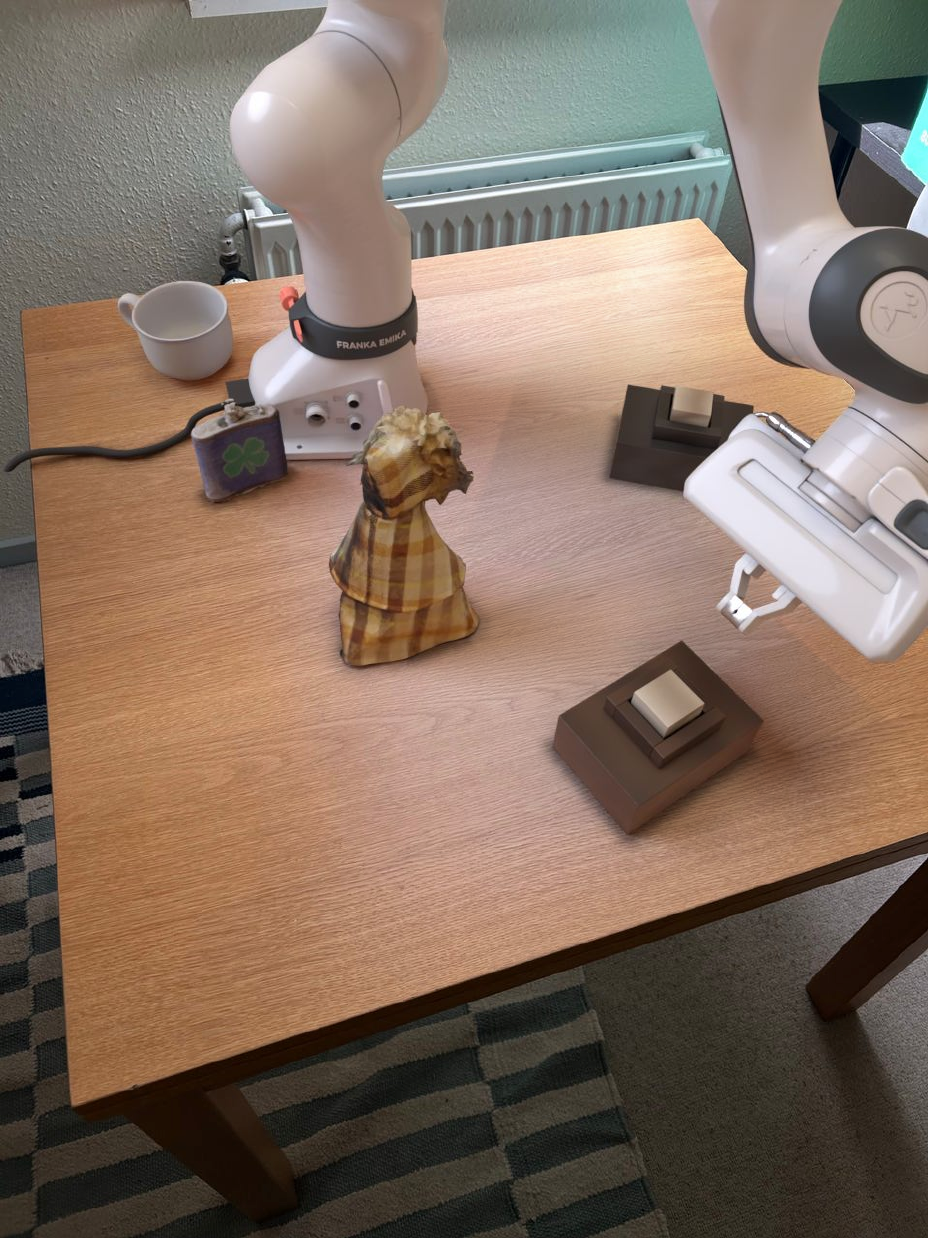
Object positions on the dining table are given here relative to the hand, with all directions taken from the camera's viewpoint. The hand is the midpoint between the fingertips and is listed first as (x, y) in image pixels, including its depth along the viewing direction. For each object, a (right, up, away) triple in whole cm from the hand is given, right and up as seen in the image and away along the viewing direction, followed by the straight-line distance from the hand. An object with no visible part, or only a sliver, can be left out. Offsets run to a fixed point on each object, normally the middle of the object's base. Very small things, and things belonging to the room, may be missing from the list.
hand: (731, 622), depth 69 cm
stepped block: (+4, +18, +34) cm, 38 cm away
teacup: (-54, +31, +42) cm, 75 cm away
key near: (-4, -7, +5) cm, 10 cm away
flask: (-44, +15, +29) cm, 55 cm away
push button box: (-4, -11, +11) cm, 16 cm away
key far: (+4, +22, +28) cm, 36 cm away
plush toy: (-27, +1, +19) cm, 33 cm away
